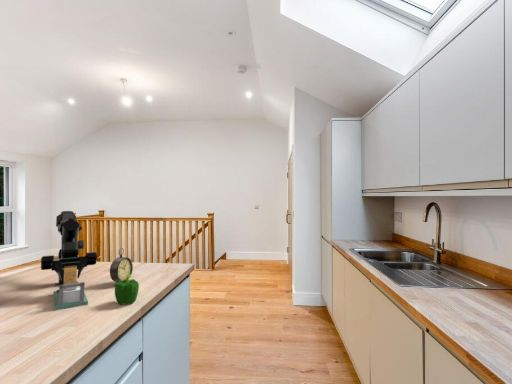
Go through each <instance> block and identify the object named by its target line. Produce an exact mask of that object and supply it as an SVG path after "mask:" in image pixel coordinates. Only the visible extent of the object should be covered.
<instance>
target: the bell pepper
mask: <svg viewBox="0 0 512 384" xmlns="http://www.w3.org/2000/svg"><path fill="white" fill-rule="evenodd" d="M129 277H130V278H131V277H132V274H131V275H130V274H129V275H128V276H127V278H126V279H125V280H123V281H121V282H115V284H114V296H115V300H116V303H117V305H131V304H134V303H135V302H136V300H137V297H138V295H139V290H140V284H139V282H138V281H137V280H135V279H134V278H131V279H130V278H129Z"/></svg>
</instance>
